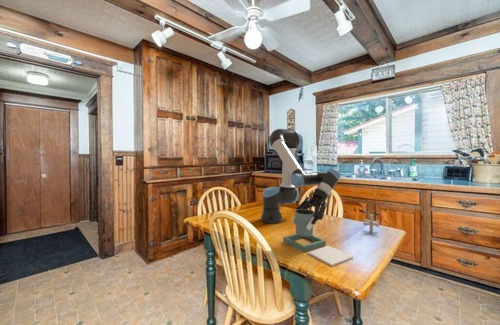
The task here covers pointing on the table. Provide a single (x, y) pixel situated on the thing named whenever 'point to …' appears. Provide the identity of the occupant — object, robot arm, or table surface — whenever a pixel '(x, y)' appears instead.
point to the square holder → (308, 247)
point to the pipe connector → (371, 222)
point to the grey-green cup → (303, 222)
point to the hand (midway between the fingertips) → (300, 225)
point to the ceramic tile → (330, 255)
